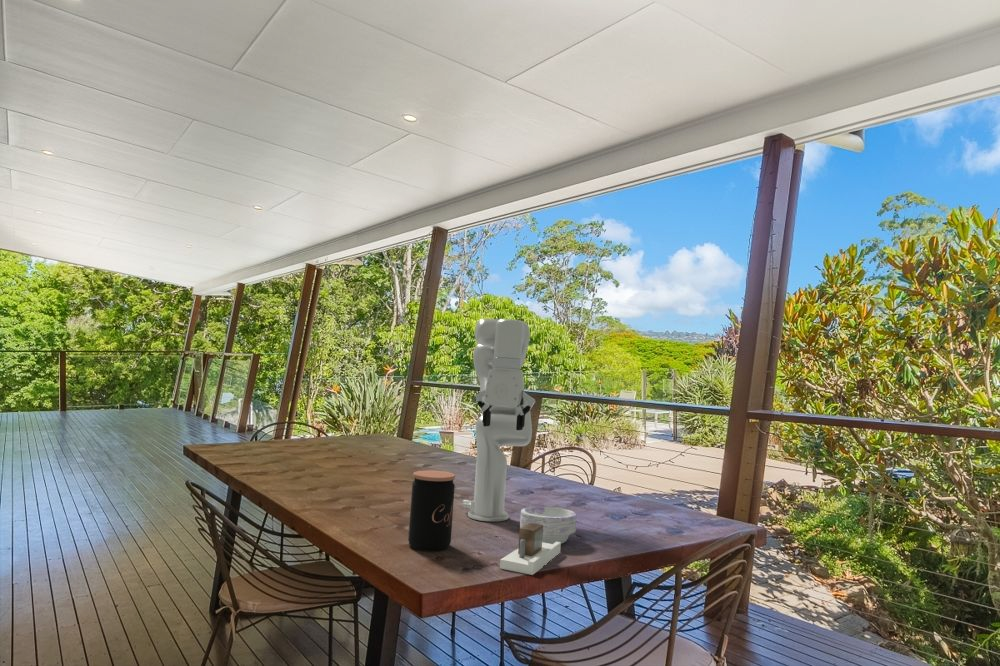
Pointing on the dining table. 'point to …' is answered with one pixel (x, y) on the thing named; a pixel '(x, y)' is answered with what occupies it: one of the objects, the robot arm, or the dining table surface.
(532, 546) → the wooden block
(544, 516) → the paper bowls
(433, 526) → the coffee jar
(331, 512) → the dining table surface
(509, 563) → the white slotted base
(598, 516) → the dining table surface
